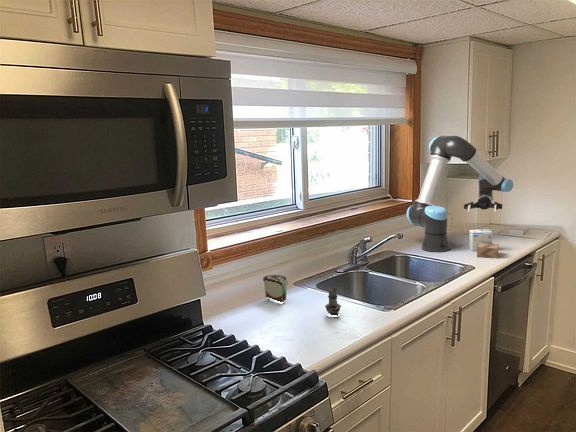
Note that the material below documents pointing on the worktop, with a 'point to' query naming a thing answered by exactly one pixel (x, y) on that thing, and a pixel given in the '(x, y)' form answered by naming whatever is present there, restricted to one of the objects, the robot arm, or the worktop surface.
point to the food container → (275, 287)
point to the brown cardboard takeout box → (487, 250)
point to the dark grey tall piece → (333, 302)
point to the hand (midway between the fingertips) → (481, 209)
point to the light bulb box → (479, 238)
